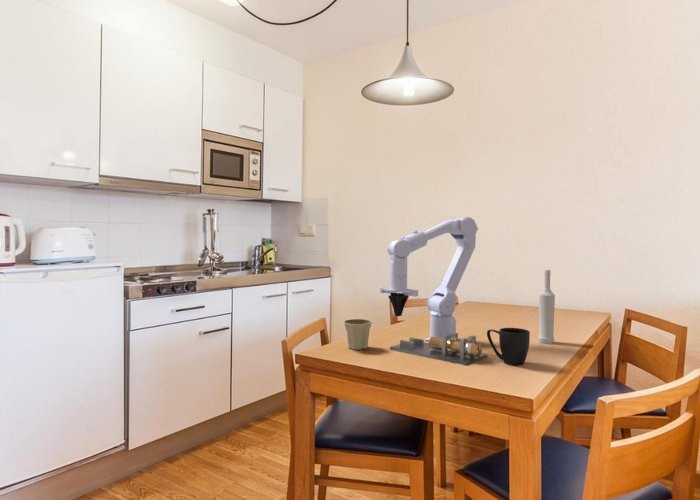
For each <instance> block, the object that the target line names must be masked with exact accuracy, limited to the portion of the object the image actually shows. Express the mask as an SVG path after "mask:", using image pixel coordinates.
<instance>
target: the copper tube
mask: <svg viewBox="0 0 700 500" xmlns="http://www.w3.org/2000/svg"><path fill="white" fill-rule="evenodd" d="M428 343H429V347H430V348H433V349H438V350H442V338H437V337H431V338H430V339H429V341H428ZM447 351H448V352H454V353H459V354H460V340H458V341H455V340H449V339H448V349H447ZM482 351H483V349H482V345H481V344H477V343H476V344H473V343H470V342H466V355H468V356H474V357H480V355H481V353H482Z"/></svg>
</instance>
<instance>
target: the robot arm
mask: <svg viewBox="0 0 700 500" xmlns="http://www.w3.org/2000/svg"><path fill="white" fill-rule="evenodd" d="M478 231H479V228H478V226H477V223H476V221H475V219H473V218H472V217H471V216H466V217H453V218H451V219H448V220H445V221H442V222H441V223H439V224H436V225H435V226H433V227H431V228H429V229H427V230H424V231H422V230H416V229H415V230H413V231H411V234H408V235H406V236H404V235H403V236H401V237H400V239H399V240H396V239H395V240H393V241H391V242H390V244H389V245H388V248H387V253H388V255H389V256H390V263H389V264H390V265H389V266H390V270H389V271H390V272H389V273H390V275H389V277H390V278H389V284H390V285H389V287H388V286H380V287H379V293H380V294H388V299H389V301H390V304H391V305H392V309H393V312H394V316H395V317H403V312H404V309H405V305H406V303H407V301H408V300H409V298H410V297H419V289H412V288H408V257H409V256H410V254H411V253H412V252H413V253H414V252H416V251H417V250H419V249H422V248H424V247H426V246H427V245H428V242H429V241H430V240H433V239H436V238H438V237H440V236H443V235H445V234H450V236H451V237H452V238H453V239H454V240H455V242H456V244H457V249H456V251H455V252H454V255H453V258H452V259H451V262H450V263H449V266H448V268H447V271H446V273H445V275H444V277H443V280H442V281H441V284H440V286H438V287H437V288H435V290H434V292H433V293H432V294H431V295H430V296H429V297H428V299H427V301H426V306H427V308H428V310H429V313H430V314H429V315H430V317H429V320H430V323H429V337H427V338H424V341H427V342H429V339H430V338H431V337H437V338H442V336H445V335H448V334H451V333H457V320H456V317H455V316H454V315H452V314H453V313H454V312H455V310H456V303H457V300H458V297H457V294H456V291H457V288H458V286H459V285H460V282H461V280H462V277H463V275H464V272H465V271H466V268H467V266H468V264H469V261H470V260H471V257H472V255H473V253H474V251H475V248H476V235H477V232H478ZM452 339H453V337H452V338H449V340H452Z"/></svg>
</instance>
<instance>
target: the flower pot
mask: <svg viewBox="0 0 700 500" xmlns="http://www.w3.org/2000/svg"><path fill="white" fill-rule="evenodd" d="M342 323H343V324H344V327H345V331H346V332H345V333H346V338H347V339H346V340H347V346H348V348H349V349H351V350H354V351H355V350H358V351H359V350H360V351H361V350H363V349H365V350H366V349H367V348H368V346H369V338H370V337H369V336H370V331H371V330H370V329H371V327H372V324H373V321H372V320H370V319H368V318H367V319H365V318H364V319H363V318H352V319H346V320H343V322H342Z"/></svg>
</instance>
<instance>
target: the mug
mask: <svg viewBox="0 0 700 500" xmlns="http://www.w3.org/2000/svg"><path fill="white" fill-rule="evenodd" d="M491 332H493V333H496V334H498V335H499V337H498V338H499V339H498V340H499V341H498V342H499V348H500V352H501V353H500V352H499V350H498V349H497V347H496V345H495V344H494V342H493V340H492V336H491ZM530 334H531V333H530V330H528V329H524V328H520V327H502V328H500V329H499V330H495V329H487V331H486V336H487V339H488V342H489V343H490V346H491V348H492V349H493V351H494V353H495V355H496V356H497V357H498V359H499V360H501V361H503V363H504V364H505V365H509V366H514V367H516V366H517V367H518V366H519V367H520V366H524V365H525V363H526V359H527V356H528V352H529V348H530V341H531V339H530V338H531V337H530V336H531V335H530Z"/></svg>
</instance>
